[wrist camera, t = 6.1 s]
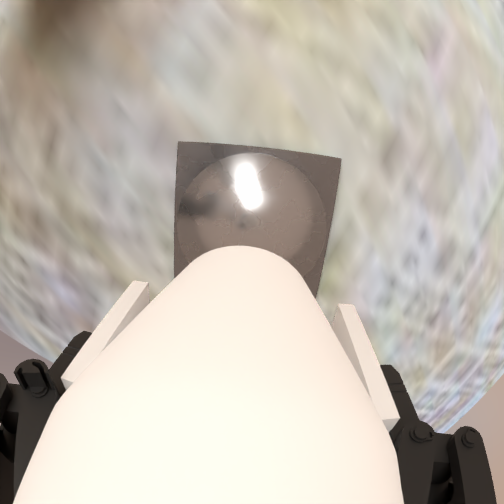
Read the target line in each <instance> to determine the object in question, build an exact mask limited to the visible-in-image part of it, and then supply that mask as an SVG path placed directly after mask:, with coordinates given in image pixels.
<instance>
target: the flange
mask: <svg viewBox="0 0 504 504" xmlns="http://www.w3.org/2000/svg"><path fill="white" fill-rule="evenodd" d="M340 166H341V159H340V158H335V157H329V156H323V155H317V154H310V153H303V152H296V151H289V150H281V149H272V148H263V147H254V146H243V145H232V144H218V143H202V142H178V150H177V167H176V188H175V222H174V279H175V278H176V277H177V276H178V275H179V274H180V273H181V272H182V271H183V270H184V269H185V268H186V267H187V266H188V265H189V264H190V263H191V262H192V261H194V260H195V259H196V258H198V257H199V256H201V255H202V254H204V253H207V252H209V251H211V250H214V249H217V248H221V247H227V246H251V247H256V248H261V249H264V250H267V251H269V252H272V253H274V254H276V255H278V256H280V257H281V258H283V259H284V260H286V261H287V262H289V263H290V264H291V265H292V266H293V267H294V268H295V269H296V270H297V271H298V272H299V274H300V275H301V276H302V278H303V279H304V281H305V283H306V284H307V286H308V288H309V289H310V291H311V293H312V295H313V296H314V298H315V299H316V294H317V290H318V285H319V281H320V276H321V272H322V267H323V262H324V257H325V252H326V247H327V242H328V237H329V232H330V226H331V221H332V215H333V210H334V204H335V198H336V192H337V186H338V179H339V173H340Z"/></svg>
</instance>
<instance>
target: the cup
mask: <svg viewBox="0 0 504 504" xmlns="http://www.w3.org/2000/svg"><path fill="white" fill-rule="evenodd" d="M13 504H404V501H403V495H402V489H401V481H400V474H399V467H398V460H397V455H396V451H395V448H394V445H393V443H392V440H391V438H390V435H389V433H388V431H387V429H386V427H385V425H384V423H383V421H382V419H381V417H380V416H379V414H378V412H377V410H376V408H375V406H374V404H373V402H372V400H371V398H370V396H369V395H368V393H367V391H366V389H365V387H364V385H363V383H362V382H361V380H360V378H359V376H358V374H357V372H356V371H355V369H354V367H353V365H352V363H351V362H350V360H349V358H348V356H347V354H346V353H345V351H344V349H343V347H342V345H341V344H340V342H339V340H338V338H337V337H336V335H335V333H334V331H333V329H332V328H331V326H330V324H329V322H328V321H327V319H326V317H325V315H324V314H323V312H322V310H321V308H320V307H319V305H318V303H317V302H316V300H315V298H314V296H313V295H312V293H311V291H310V289H309V288H308V286H307V284H306V283H305V281H304V279H303V278H302V276H301V275H300V274H299V272H298V271H297V270H296V269H295V268H294V267H293V266H292V265H291V264H290V263H289V262H287V261H286V260H284V259H283V258H281V257H280V256H278V255H276V254H274V253H272V252H269V251H267V250H264V249H261V248H256V247H251V246H227V247H221V248H217V249H214V250H211V251H209V252H207V253H204V254H202V255H201V256H199V257H198V258H196V259H195V260H194V261H192V262H191V263H190V264H189V265H188V266H187V267H186V268H185V269H184V270H183V271H182V272H181V273H180V274H179V275H178V276H177V277H176V278H175V279H174V280H173V281H172V282H170V283H169V284H168V285H167V286H166V287H165V288H164V289H163V290H162V291H161V292H160V293H159V294H158V295H157V296H156V297H155V298H154V299H153V300H152V301H151V302H150V303H149V304H148V305H147V306H146V307H145V308H144V309H143V310H142V311H141V312H140V313H139V314H138V315H137V316H136V317H135V318H134V319H133V320H132V321H131V322H130V323H129V324H128V326H127V327H126V328H125V329H124V330H123V331H122V332H121V333H120V334H119V335H118V336H117V337H116V338H115V339H114V340H113V341H112V342H111V343H110V344H109V345H108V346H107V347H106V348H105V349H104V350H103V351H102V352H101V353H100V354H99V356H98V357H97V358H96V359H95V360H94V361H93V362H92V363H91V364H90V365H89V366H88V367H87V368H86V369H85V370H84V372H83V373H82V374H81V375H80V376H79V377H78V378H77V379H76V380H75V381H74V382H73V384H72V385H71V386H70V387H69V388H68V389H67V390H66V391H65V393H64V394H63V395H62V396H61V398H60V399H59V400H58V402H57V403H56V405H55V406H54V408H53V410H52V412H51V414H50V417H49V419H48V421H47V423H46V425H45V428H44V430H43V432H42V435H41V437H40V439H39V442H38V444H37V446H36V448H35V450H34V453H33V455H32V457H31V460H30V462H29V464H28V467H27V469H26V472H25V474H24V476H23V479H22V481H21V484H20V486H19V489H18V491H17V494H16V497H15V499H14V502H13Z"/></svg>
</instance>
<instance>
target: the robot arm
mask: <svg viewBox="0 0 504 504" xmlns="http://www.w3.org/2000/svg"><path fill="white" fill-rule="evenodd" d="M149 303H150V297H149V283H147V282H140V281H133V282H132V283H131V284H130V286H129V287H128V288H127V289H126V291H125V292H124V293H123V294H122V296H121V297H120V298H119V299H118V301H117V302H116V303H115V304H114V306H113V307H112V308H111V310H110V311H109V312H108V313H107V315H106V316H105V317H104V319H103V320H102V321H101V323H100V324H99V325H98V327H97V328H96V329H95V330H94V332H93V333H91V332H87V331H83V332H81V333H80V334H78V335H77V336H75V337H74V338H73V339H72V340H71V342H70V343H69V344H68V347H66V348H65V349H64V351H63V353H61V355H60V356H59V357H58V359H57V360H56V361H55V363H54V364H53V365H52V367H51V368H50V369H49V370H48V367H47V366H46V364H45V363H44V362H42V361H41V360H36V359H30V360H26V361H24V362H22V363H20V364H19V365H18V366H17V367H16V369H15V371H14V374H15V376H16V378H17V380H18V382H19V384H20V385H17V384H9V383H8V381H7V379H6V378H5V376H4V375H3V374H1V373H0V423H1V426H0V504H13V502H14V499H15V497H16V494H17V491H18V489H19V486H20V484H21V481H22V479H23V476H24V474H25V472H26V469H27V467H28V464H29V462H30V460H31V457H32V455H33V453H34V450H35V448H36V446H37V444H38V442H39V439H40V437H41V435H42V432H43V430H44V428H45V425H46V423H47V421H48V419H49V417H50V414H51V412H52V410H53V408H54V406H55V405H56V403H57V402H58V400H59V399H60V398H61V396H62V395H63V394H64V393H65V391H66V390H67V389H68V388H69V387H70V386H71V385H72V384H73V382H74V381H75V380H76V379H77V378H78V377H79V376H80V375H81V374H82V373H83V372H84V370H85V369H86V368H87V367H88V366H89V365H90V364H91V363H92V362H93V361H94V360H95V359H96V358H97V357H98V356H99V354H100V353H101V352H102V351H103V350H104V349H105V348H106V347H107V346H108V345H109V344H110V343H111V342H112V341H113V340H114V339H115V338H116V337H117V336H118V335H119V334H120V333H121V332H122V331H123V330H124V329H125V328H126V327H127V326H128V324H129V323H130V322H131V321H132V320H133V319H134V318H135V317H136V316H137V315H138V314H139V313H140V312H141V311H142V310H143V309H144V308H145V307H146V306H147V305H148V304H149ZM331 328H332V329H333V331H334V333H335V335H336V337H337V338H338V340H339V342H340V344H341V345H342V347H343V349H344V351H345V353H346V354H347V356H348V358H349V360H350V362H351V363H352V365H353V367H354V369H355V371H356V372H357V374H358V376H359V378H360V380H361V382H362V383H363V385H364V387H365V389H366V391H367V393H368V395H369V396H370V398H371V400H372V402H373V404H374V406H375V408H376V410H377V412H378V414H379V416H380V417H381V419H382V421H383V423H384V425H385V427H386V429H387V431H388V433H389V435H390V438H391V440H392V443H393V445H394V448H395V451H396V455H397V460H398V467H399V474H400V481H401V489H402V495H403V501H404V504H497V503H496V497H495V491H494V486H493V481H492V476H491V471H490V467H489V463H488V459H487V454H486V451H485V447H484V443H483V439H482V437H481V435H480V433H479V432H478V431H477V430H475V429H474V428H472V427H468V426H464V427H460V428H459V429H458V430H457V431H456V432H455V433H454V434H453V435H451V434H442V433H436V432H434V430H433V428H432V427H431V426H430V425H428V424H427V423H425V422H423V421H420V420H419V418H418V416H417V413H416V411H415V409H414V406H413V404H412V402H411V399H410V397H409V395H408V392H406V391H407V390H406V388H405V385H403V381H402V379H401V377H400V374H399V373H398V372H397V371H396V370H395V369H394V368H393V367H392V366H391V365H379V362H378V360H377V357H376V355H375V353H374V350H373V348H372V346H371V343H370V341H369V339H368V336H367V334H366V332H365V329H364V327H363V325H362V323H361V320H360V318H359V316H358V314H357V311H356V309H355V307H354V305H351V304H338V306H337V309H336V313H335V316H334V320H333V323H332V327H331Z"/></svg>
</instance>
